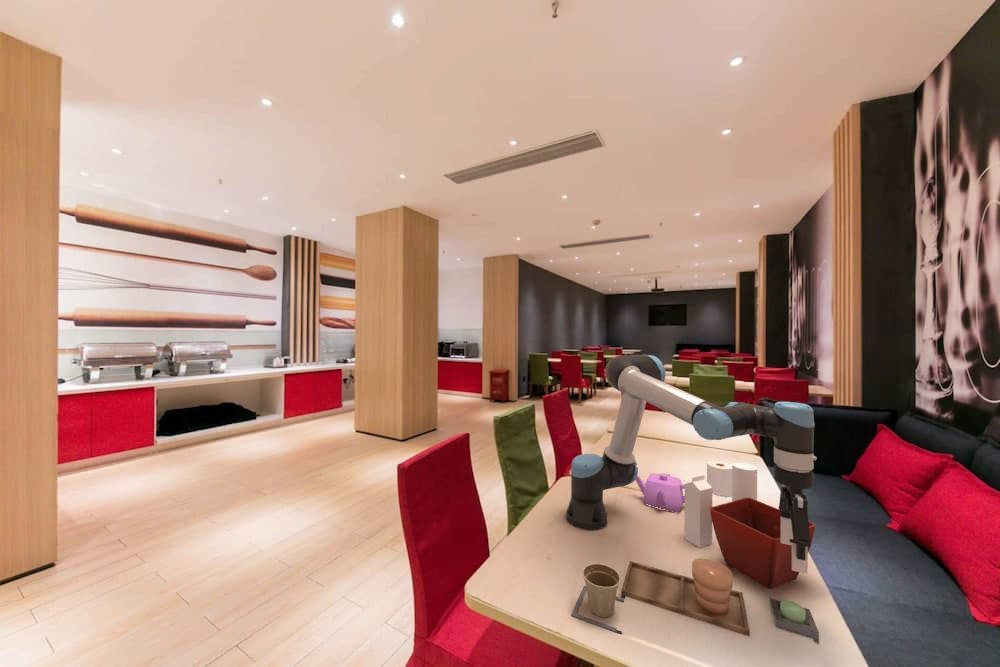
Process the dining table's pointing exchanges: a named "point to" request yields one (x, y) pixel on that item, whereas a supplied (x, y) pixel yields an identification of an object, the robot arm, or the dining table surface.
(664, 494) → the teakettle
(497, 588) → the dining table surface
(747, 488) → the cylindrical container
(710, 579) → the stacked pebble cairn
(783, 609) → the green soap bar
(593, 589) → the flower pot
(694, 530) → the milk
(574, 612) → the square
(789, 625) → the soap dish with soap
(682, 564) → the dining table surface
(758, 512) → the plant pot
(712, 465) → the toilet paper
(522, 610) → the dining table surface
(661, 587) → the brown divided tray
